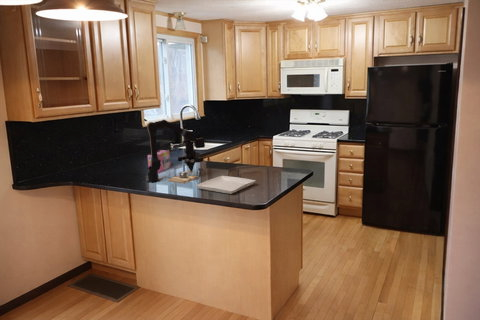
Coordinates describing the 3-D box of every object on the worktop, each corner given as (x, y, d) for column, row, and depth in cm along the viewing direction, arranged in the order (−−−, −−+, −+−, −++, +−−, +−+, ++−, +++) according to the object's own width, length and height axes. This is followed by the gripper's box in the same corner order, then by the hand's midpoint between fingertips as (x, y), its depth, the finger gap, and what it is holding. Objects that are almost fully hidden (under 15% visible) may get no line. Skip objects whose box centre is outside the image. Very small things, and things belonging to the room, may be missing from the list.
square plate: (195, 190, 245) (195, 184, 244) (222, 180, 267) (221, 175, 266) (232, 196, 230) (231, 190, 229) (256, 185, 252) (256, 179, 251)
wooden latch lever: (184, 178, 268) (183, 173, 267) (177, 177, 270) (177, 173, 270) (194, 174, 279) (194, 169, 279) (189, 173, 282) (188, 169, 281)
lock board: (184, 183, 262) (184, 180, 261) (168, 181, 269) (167, 178, 269) (198, 178, 274) (198, 175, 274) (182, 176, 282) (182, 174, 281)
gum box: (162, 166, 319) (161, 149, 316) (171, 166, 317) (170, 149, 314) (148, 173, 296) (147, 155, 294) (158, 173, 294) (156, 155, 292)
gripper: (207, 147, 276) (209, 169, 279) (186, 146, 286) (188, 167, 289) (197, 150, 267) (199, 173, 270) (176, 149, 277) (178, 171, 280)
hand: (191, 171), depth 278 cm, fingers closed
